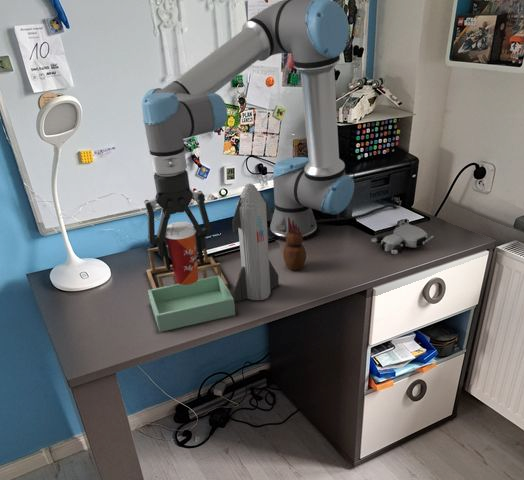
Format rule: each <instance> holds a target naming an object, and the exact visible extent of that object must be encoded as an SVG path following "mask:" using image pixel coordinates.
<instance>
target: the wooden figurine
mask: <svg viewBox="0 0 524 480" xmlns="http://www.w3.org/2000/svg"><path fill="white" fill-rule="evenodd" d="M303 241H304V239H303V237H302V233H301V232H300V230H299V228H297V225H295V226H294V220H292V226H291V222H290V219H289V217H288V233H287V234H286V240H285V242H286V243H285V245H284V247H283V251H282V256H283V261H284V263H285V266H286V268H287V269H288V270H290V271H301V269H303V268H304V266H305V263H306V262H307V251H306V248H305V247H304V245H303V244H302V243H303Z"/></svg>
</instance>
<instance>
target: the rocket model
mask: <svg viewBox="0 0 524 480" xmlns="http://www.w3.org/2000/svg"><path fill="white" fill-rule="evenodd" d="M271 221H272V208H271V207H270V205H269V203H268V201H267V200H266V198H265V196H264V194H263V192H262V191H259V189H258V188H257V187H256V185H254V184H253V183H247V184H246V185H244V188H243V189H242V191H241V194H240V197H239V198H238V199H237V203H236V208H235V212H234V214H233V218H232V220H231V222H232V233H233V234H234V233H236V232H238V240H239V241H238V242H239V251H240V261H241V262H240V263H241V267H240V271H239V273H238V277H237V281H236V285H235V286H234V290H233V295H234V296H233V298H234V303H237V302H240V301H243V300H246V299H249V300H251V301H263V300H267V299H268V298H269V296H270V295H271V290H272V289H274V288H276V287H278V286H279V274H278V272H277V270H276V269H275V267H274V266H273V264H272V262H271V260H270V254H269V236H268V222H271Z"/></svg>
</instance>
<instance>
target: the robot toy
mask: <svg viewBox="0 0 524 480" xmlns="http://www.w3.org/2000/svg"><path fill="white" fill-rule="evenodd" d="M407 223H408V222H404V223H403V224H402V225H400V226H397V227H395V228H394V229H393V232H392V234H389V235H385V236H384V235H379V236H378V235H377V236H376V237H374V238H371V242H372V243H373V244H375V243H377V244H380V249H381V250H383V251H384V252H391V254H392V255H397V254H400V253H401V251H402V249H403V248H404V247H407V248H413V249H416V248H419V247H421V246H424V245H426V244H427V242H429V241H430V240H431V239H433V238H434V235H431V236H430V237H429V238H428V233H427V232H426V231H425V230H424V229H422V228H421V227H419V226H416V225H413V224H407Z"/></svg>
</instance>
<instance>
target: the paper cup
mask: <svg viewBox="0 0 524 480" xmlns="http://www.w3.org/2000/svg"><path fill="white" fill-rule="evenodd" d="M196 233H197V230H196V228H195V227H194V225H193V224H192V222H189V221H176V222H171V223H168V225H167V229H166V233H165V237H164V238H165V240H166V241H165V242H166V246H167V245H168V249H167V250H168V255H169V257H170V258H169V259H170V262H171V265H172V266H173V270H172V272H174V275H175V279H176V282H177V283H178V284H181V285H189V284H193V283H195V282H196V281H197V280H198V279H199V271H198V267H199V266H198V265H197V260H198V251H197V243H196V236H195V235H196Z"/></svg>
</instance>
